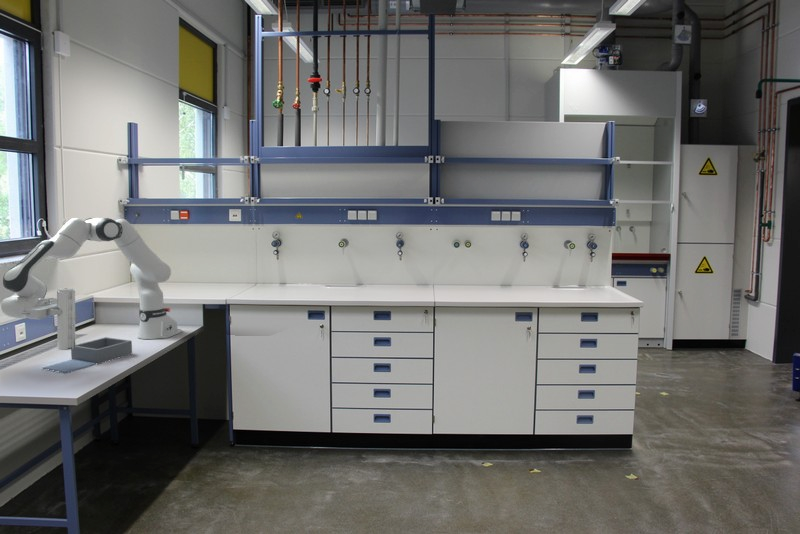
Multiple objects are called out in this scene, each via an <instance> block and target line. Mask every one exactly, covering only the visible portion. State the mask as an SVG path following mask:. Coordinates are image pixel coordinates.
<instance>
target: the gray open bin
mask: <svg viewBox="0 0 800 534" xmlns="http://www.w3.org/2000/svg"><path fill="white" fill-rule="evenodd" d="M132 344H133V342H132V340H130V339H129V340H127V339H122V338H121V339H120V338H113V337H108V336H105V337H101V338H98V339H94V340H90V341H86V342H82V343H78V344H75V348H74V349H70V356H71V357H70V358H71V360H72V359H74V360H80V361H86V362H92V363H97V364H96V365H99V364H102V362H103V363H106V362H110V361H112V359H113V360H116V359H119V358H118V357H120V358H122V356H123V357H126V356H129V355H128V354H130V355H132V354H133V345H132ZM131 353H132V354H131ZM125 355H126V356H125ZM115 358H116V359H115ZM109 360H110V361H109ZM105 361H106V362H105Z"/></svg>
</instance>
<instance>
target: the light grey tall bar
mask: <svg viewBox="0 0 800 534" xmlns="http://www.w3.org/2000/svg"><path fill="white" fill-rule="evenodd" d="M56 298H57V310H62V314H56V315H57V317H56V318H57V319H56V320H57V321H56V324H57V326H56V328H57V330H56V331H57V347H56V349H58V351H59V350H60V351H71V349H74V348H75V345H76V290H75V289H74V288H73V287H60V288H57V291H56Z"/></svg>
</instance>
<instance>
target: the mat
mask: <svg viewBox="0 0 800 534" xmlns="http://www.w3.org/2000/svg"><path fill="white" fill-rule="evenodd" d="M92 365H93V366H95V365H97V364H96V363H92V362H86V361H80V360H74V359H72V358H71V359H69V360H65V361H61V362H58V363H55V364H51V365H47V366H45V367H42V368H43V369H42V370H44V369H49V370H48V371H50V370H54V371H53V372H55V371H59V372H58V373H61V372H63V373H62V374H69V373H72V372H71V371H73V372H76V371H80V370H82V368H83V369H85V368H89V367H93V366H92ZM75 370H76V371H75ZM68 372H69V373H68Z"/></svg>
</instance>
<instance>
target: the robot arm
mask: <svg viewBox="0 0 800 534" xmlns="http://www.w3.org/2000/svg"><path fill="white" fill-rule="evenodd" d="M86 241H90V242H91V241H94V242H111V241H113V242H114V243H115V244H116V246H117V247H118V248H119V250H120V251H121V253H122V254H123V255H124V257H125V258H126V259H127V260H128V261H129V262H131V265H130V267H129V272H130V275H131V276H132V278H133V279H134V281H135V284H136V287H137V291H138V295H139V312H138V313H139V315H138V316H139V327H138V334H137V338H138V339H142V340H156V339H169V338H170V337H172V336H176V335H177V334H180V333H183V332H184V331H183V329H182V328H178V323H177V322H178V321H176V319H174V318H172V317H171V316H169V315H168V314H167V312H168V313H170V312H171V308H170V307H164V293H163V291H162V289H161V288H160V286H159V283H164V282H166V281H168V280H169V279H170V277H171V274H172V270H171V266H170V265H169V264H168V263H166V262H164V261H163V260H162V259H161V258H160V257H159V256H158V255H157V254H156V253H155V252H153V251H152V249H150V247H149V246H148V245H147V244H146V242H145V240H143V238H142V237H141V235H140V234H139V232H138V231H137V230H136V229H135V227H134V226H133V225H132V224H131V223H130V222H129V221H128V220H127V219H124V218H118V219H115V220H114V219H112V218H110V217H109V218H108V217H89V218H85V219H83V218H79V217H74V218H70V220H68V221H67V222H66V223H65V224H64V225H63V226H62V227H61V228H60V229H59V230H58V231H57V232H56V234H55V235H54V236H53V237H52V238H50V239H45V240H42V241H40V242H39V243H38V244H37V245H36V246H35V247H34V248H32V250H30V251H29V253H27V254H26V255H25V256H24V257H23V258H22V259H21V260H20V261H19V262H18V263H16V265H14V266H12V267H11V268H10V269H8V270H7V271H5V273H4V274H3V278H2V286H3V287H4V289H7V290H9V291H10V292H11V293H14V294H12V295H11V296H9V297H6V298H4V299H3V300H2V301H1V304H0V308H1V311H2V313H3V314H4V315H5V316H7V317H10V318H15V319H26V318H27V319H29V320H44V319H47V317H48V318H49V317H50V316H55V315H57V314H62V310H57V297H49V298H48V297H47V298H45V297H46V295H47V292H48V291H47V289H48V288H47V285H46V284H45V283H44V282H42V281H41V280H40V279H38V278H37V277H35V276H34V275H32V271H33V270H34V269H35V268H36V267H37V266H38V265H39V264H40V263H41V262H42V261H43V260H45V258H48V257H52V258H53V257H54V258H58V259H70V258H72V257H74V256H75V255H76V254H77V253H78V251H79V250H80V249H81V247H82V246H83V245H84V243H85V242H86Z"/></svg>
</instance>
